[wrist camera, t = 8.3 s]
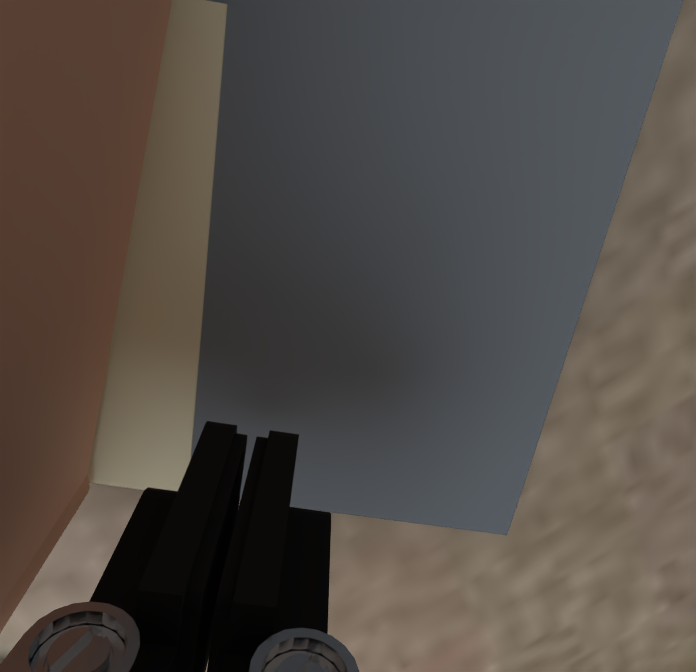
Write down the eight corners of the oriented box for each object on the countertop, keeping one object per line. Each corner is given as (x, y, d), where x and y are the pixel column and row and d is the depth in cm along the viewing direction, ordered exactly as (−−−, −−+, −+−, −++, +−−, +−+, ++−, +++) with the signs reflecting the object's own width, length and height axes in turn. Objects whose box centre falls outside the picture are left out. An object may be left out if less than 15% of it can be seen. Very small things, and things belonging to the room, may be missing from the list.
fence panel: (96, -30, 11) (-203, -164, 5) (183, -1, 11) (-4, -95, 5) (25, 496, 16) (-180, 761, 9) (88, 511, 16) (-73, 782, 10)
